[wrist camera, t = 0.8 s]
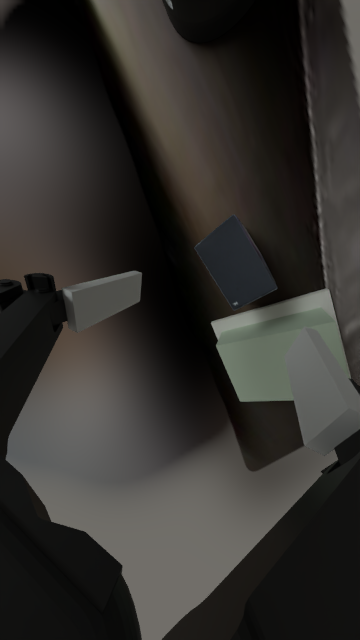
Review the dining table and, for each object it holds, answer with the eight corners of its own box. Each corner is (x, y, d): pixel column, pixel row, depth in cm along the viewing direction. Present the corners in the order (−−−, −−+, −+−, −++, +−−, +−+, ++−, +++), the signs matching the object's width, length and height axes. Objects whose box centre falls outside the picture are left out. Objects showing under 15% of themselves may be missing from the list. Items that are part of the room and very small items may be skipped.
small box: (273, 275, 29) (281, 289, 20) (239, 294, 32) (232, 313, 23) (242, 221, 28) (235, 210, 19) (209, 247, 31) (191, 248, 22)
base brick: (221, 331, 35) (216, 346, 30) (320, 307, 27) (335, 321, 22) (242, 380, 38) (240, 401, 33) (338, 372, 30) (355, 398, 25)
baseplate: (212, 321, 37) (211, 323, 36) (326, 288, 26) (329, 289, 26) (239, 386, 40) (239, 389, 39) (349, 379, 30) (352, 383, 29)
